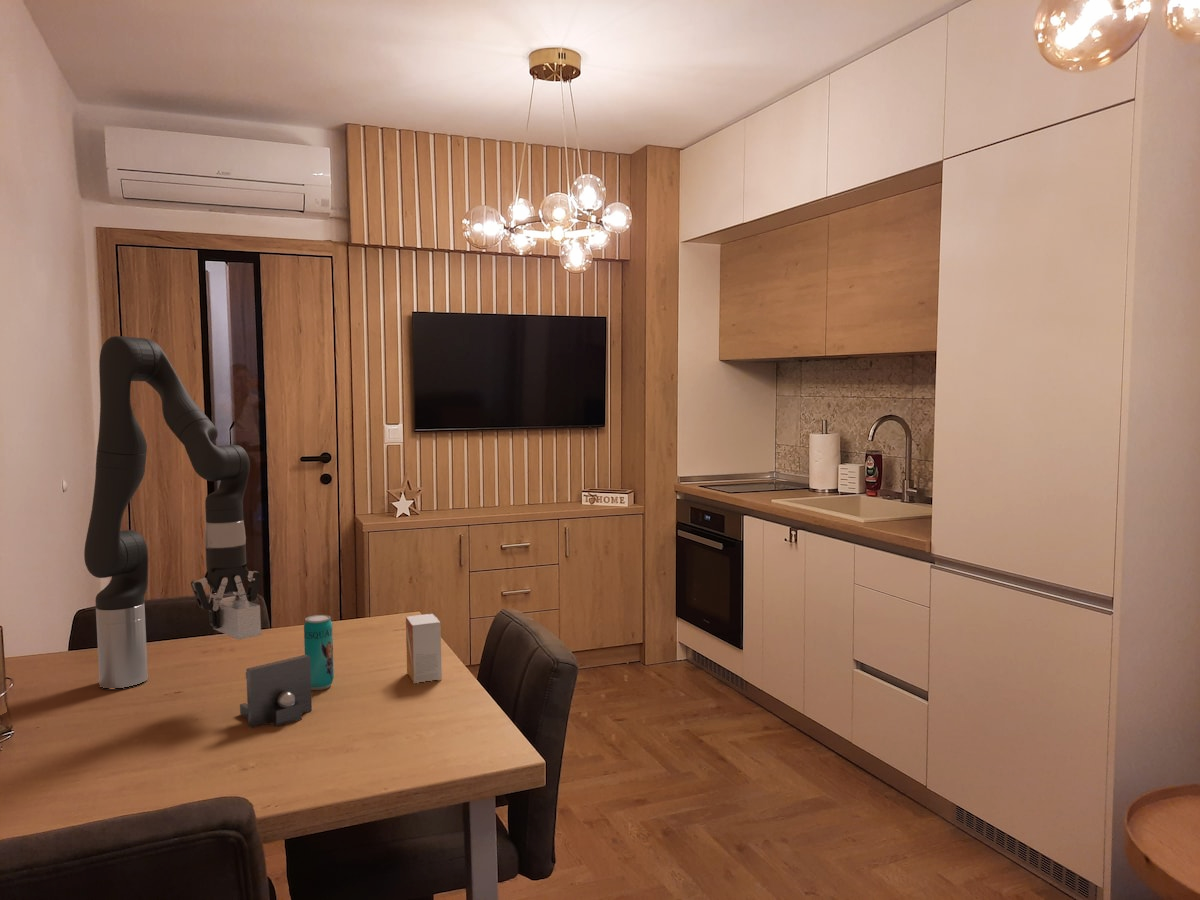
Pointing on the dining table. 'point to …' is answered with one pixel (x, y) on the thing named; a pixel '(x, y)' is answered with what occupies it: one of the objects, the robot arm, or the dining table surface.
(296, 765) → the dining table surface
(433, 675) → the small box
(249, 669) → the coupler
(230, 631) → the grey rectangular block
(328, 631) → the beverage can
